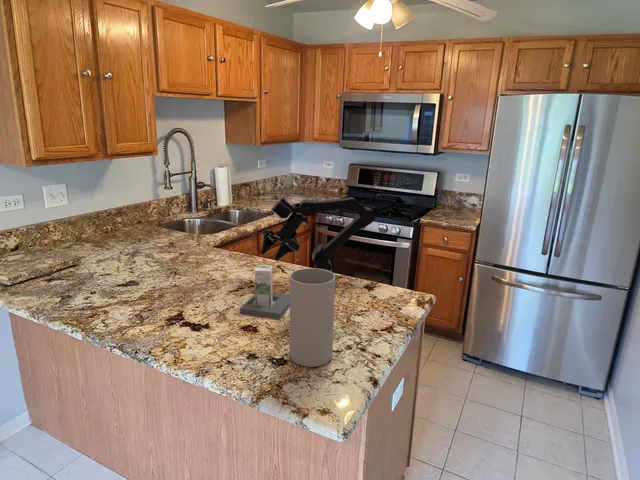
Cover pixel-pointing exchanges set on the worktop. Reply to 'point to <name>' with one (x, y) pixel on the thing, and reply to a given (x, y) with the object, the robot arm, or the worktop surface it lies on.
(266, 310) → the pocket plate
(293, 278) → the cylinder vase
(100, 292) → the worktop surface
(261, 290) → the syrup box
